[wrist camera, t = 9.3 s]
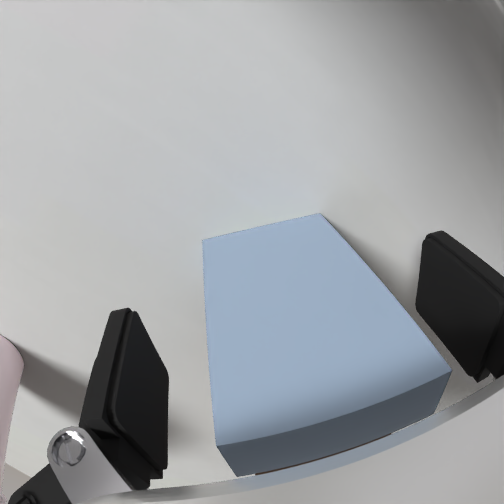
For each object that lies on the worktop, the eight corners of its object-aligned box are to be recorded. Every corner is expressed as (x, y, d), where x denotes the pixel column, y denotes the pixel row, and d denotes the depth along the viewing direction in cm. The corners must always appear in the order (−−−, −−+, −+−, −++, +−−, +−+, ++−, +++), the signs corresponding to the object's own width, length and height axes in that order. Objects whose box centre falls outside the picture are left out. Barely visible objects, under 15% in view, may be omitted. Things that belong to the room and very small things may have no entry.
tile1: (202, 240, 13) (216, 446, 5) (319, 213, 13) (452, 369, 5) (212, 276, 14) (236, 476, 6) (323, 250, 14) (433, 413, 6)
